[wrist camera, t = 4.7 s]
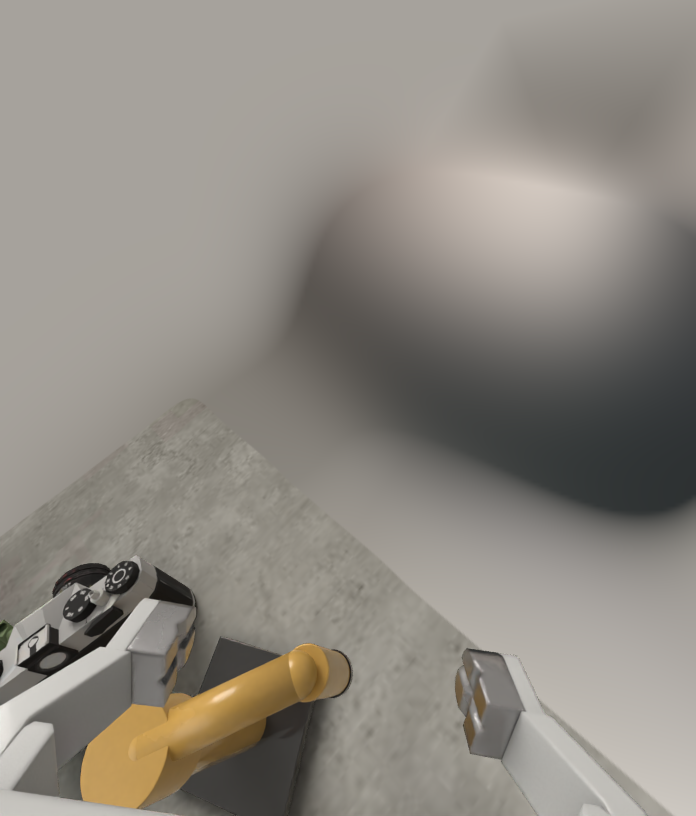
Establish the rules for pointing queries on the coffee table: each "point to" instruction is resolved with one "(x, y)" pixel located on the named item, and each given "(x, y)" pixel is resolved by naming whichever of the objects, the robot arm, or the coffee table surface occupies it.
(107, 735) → the spout
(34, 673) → the camera
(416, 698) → the coffee table surface
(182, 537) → the coffee table surface
